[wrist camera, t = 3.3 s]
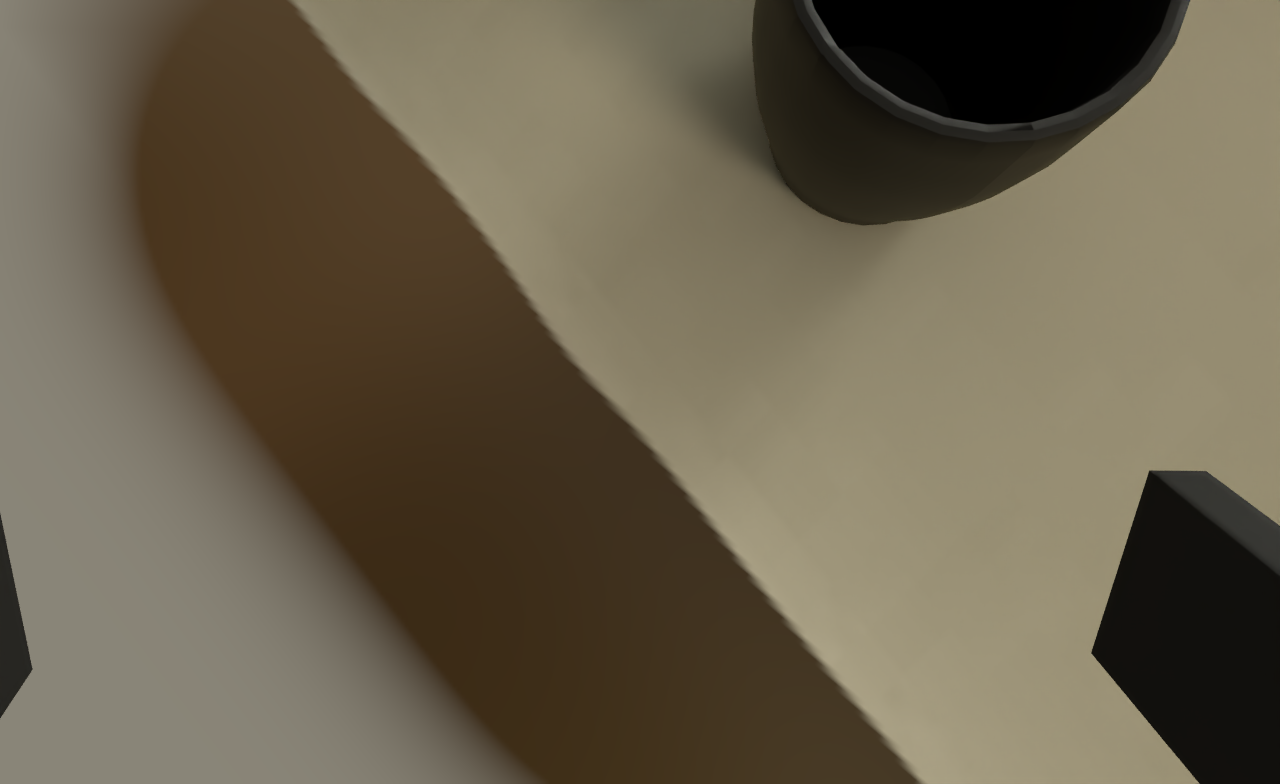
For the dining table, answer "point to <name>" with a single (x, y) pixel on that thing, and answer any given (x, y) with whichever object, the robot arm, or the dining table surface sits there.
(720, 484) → the dining table surface
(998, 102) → the mug
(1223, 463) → the dining table surface
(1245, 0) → the dining table surface
